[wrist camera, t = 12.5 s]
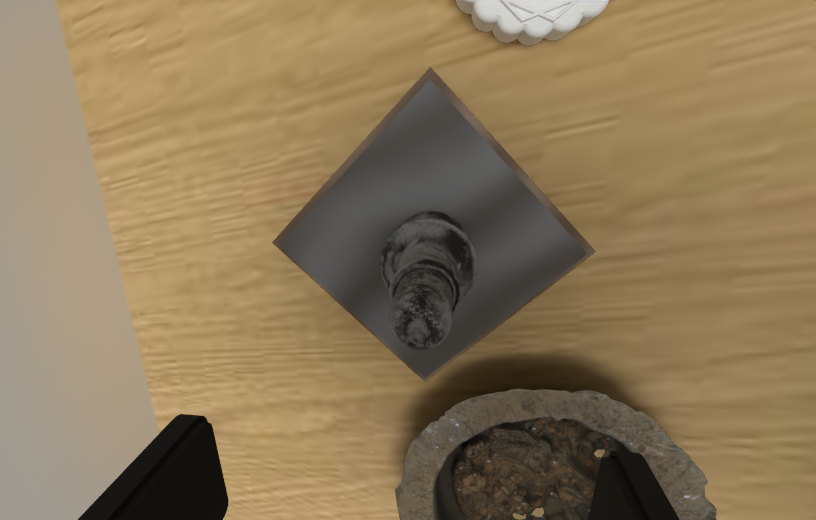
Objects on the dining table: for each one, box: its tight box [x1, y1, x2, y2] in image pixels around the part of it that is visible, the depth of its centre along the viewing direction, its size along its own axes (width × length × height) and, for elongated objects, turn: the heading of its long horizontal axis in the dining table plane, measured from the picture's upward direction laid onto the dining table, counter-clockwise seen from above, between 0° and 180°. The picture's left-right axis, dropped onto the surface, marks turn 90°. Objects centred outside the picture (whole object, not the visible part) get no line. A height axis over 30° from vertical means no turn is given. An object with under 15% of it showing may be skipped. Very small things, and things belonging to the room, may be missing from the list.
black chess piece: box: [380, 211, 478, 350], centre depth 20 cm, size 6×6×12 cm
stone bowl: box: [395, 389, 717, 520], centre depth 34 cm, size 25×25×9 cm
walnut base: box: [272, 67, 596, 382], centre depth 28 cm, size 16×16×5 cm
